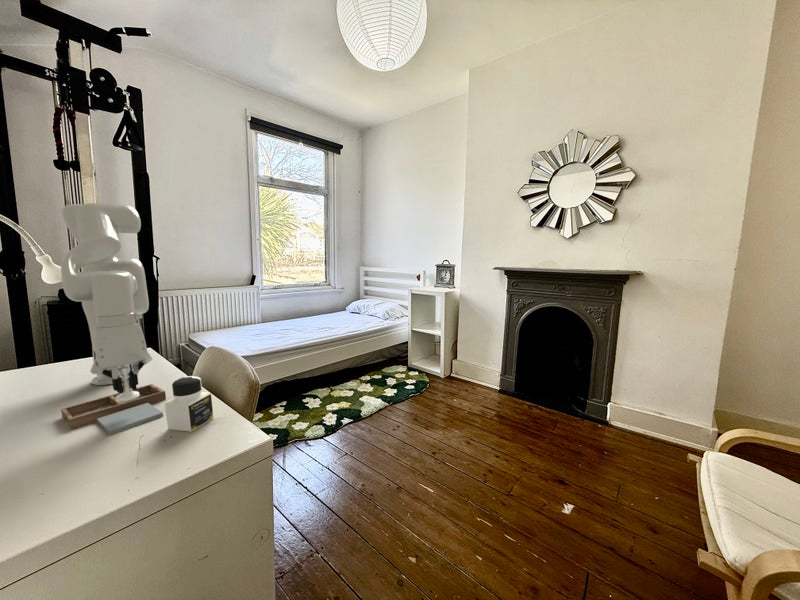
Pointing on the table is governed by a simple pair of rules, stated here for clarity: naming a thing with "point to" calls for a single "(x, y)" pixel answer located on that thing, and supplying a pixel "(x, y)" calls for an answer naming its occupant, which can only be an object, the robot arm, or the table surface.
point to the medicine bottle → (188, 405)
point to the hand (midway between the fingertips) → (126, 389)
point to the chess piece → (126, 387)
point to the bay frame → (105, 401)
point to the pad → (129, 418)
